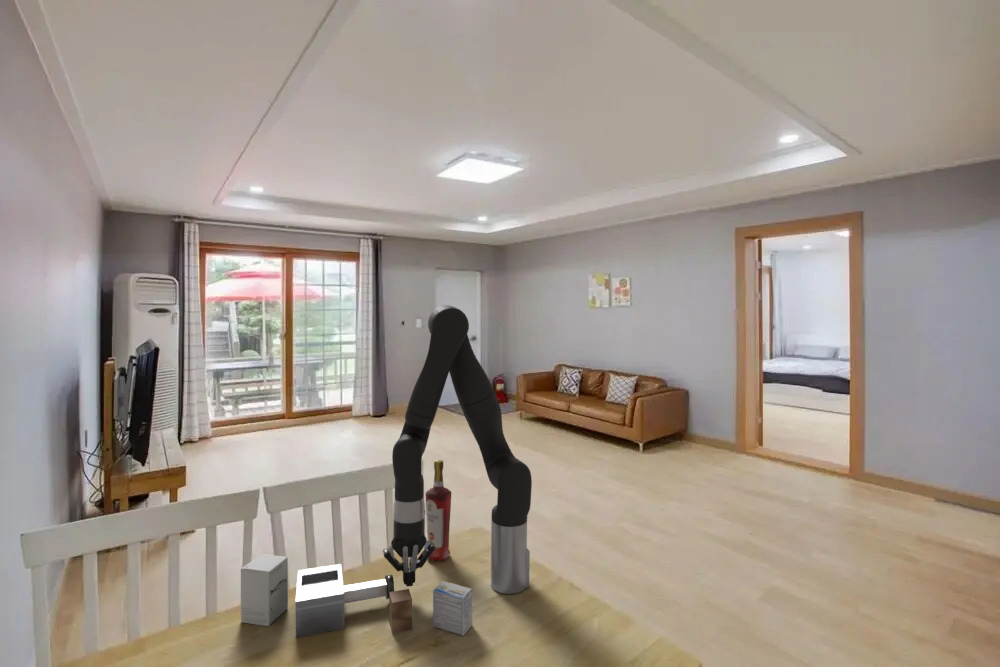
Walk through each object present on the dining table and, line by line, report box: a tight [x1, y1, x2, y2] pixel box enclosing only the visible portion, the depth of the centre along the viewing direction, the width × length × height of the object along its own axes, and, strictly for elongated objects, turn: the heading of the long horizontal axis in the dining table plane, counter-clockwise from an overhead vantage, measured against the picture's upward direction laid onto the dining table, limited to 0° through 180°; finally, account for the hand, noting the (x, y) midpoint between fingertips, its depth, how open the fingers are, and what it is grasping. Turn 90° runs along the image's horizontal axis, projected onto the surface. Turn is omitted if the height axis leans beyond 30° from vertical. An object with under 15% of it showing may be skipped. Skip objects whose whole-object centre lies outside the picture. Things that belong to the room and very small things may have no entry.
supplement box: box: [240, 553, 289, 627], centre depth 117 cm, size 7×7×13 cm
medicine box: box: [432, 580, 473, 636], centre depth 114 cm, size 8×4×9 cm, turn 65°
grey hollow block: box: [295, 563, 345, 639], centre depth 118 cm, size 10×14×8 cm
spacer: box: [388, 588, 413, 635], centre depth 114 cm, size 4×4×7 cm
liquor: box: [425, 459, 452, 562], centre depth 145 cm, size 7×7×28 cm
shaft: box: [343, 573, 395, 605], centre depth 121 cm, size 14×5×5 cm, turn 110°
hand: (408, 584), depth 125 cm, fingers closed
